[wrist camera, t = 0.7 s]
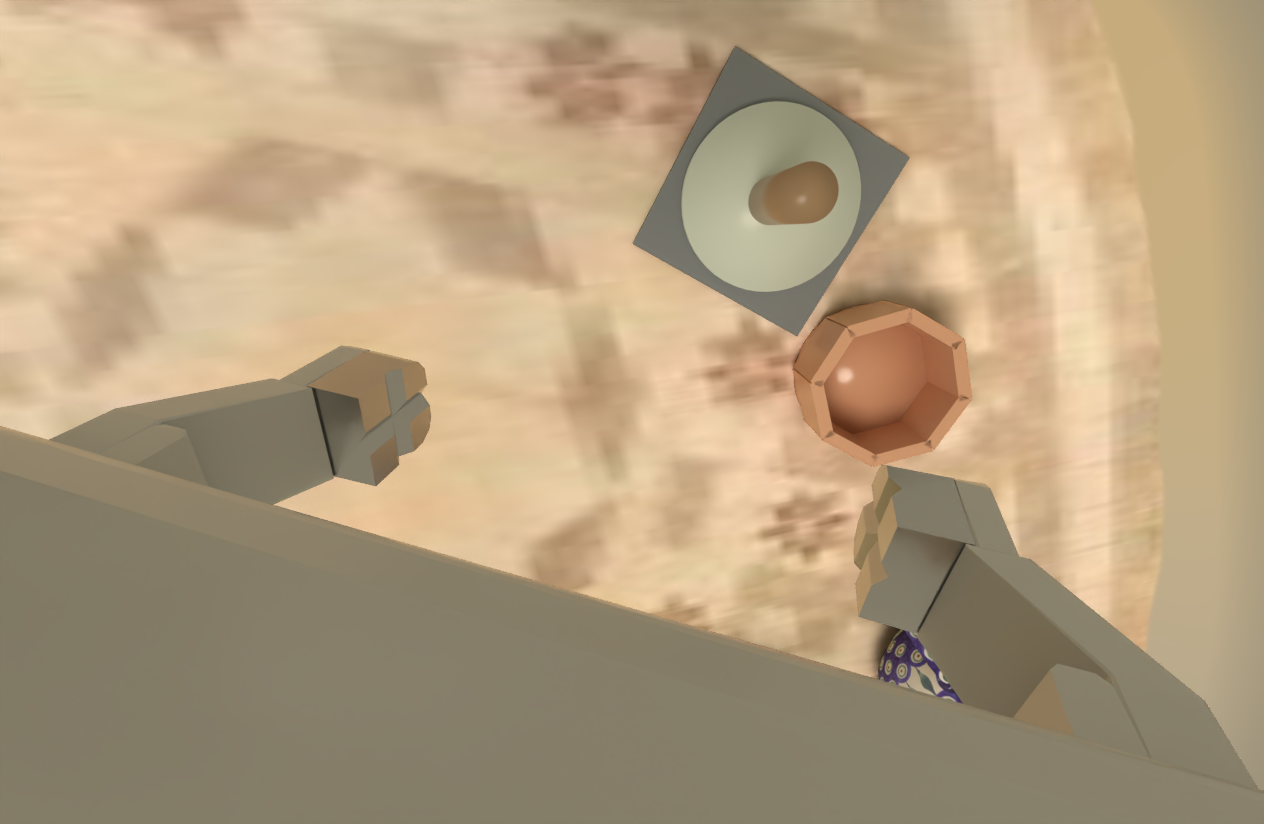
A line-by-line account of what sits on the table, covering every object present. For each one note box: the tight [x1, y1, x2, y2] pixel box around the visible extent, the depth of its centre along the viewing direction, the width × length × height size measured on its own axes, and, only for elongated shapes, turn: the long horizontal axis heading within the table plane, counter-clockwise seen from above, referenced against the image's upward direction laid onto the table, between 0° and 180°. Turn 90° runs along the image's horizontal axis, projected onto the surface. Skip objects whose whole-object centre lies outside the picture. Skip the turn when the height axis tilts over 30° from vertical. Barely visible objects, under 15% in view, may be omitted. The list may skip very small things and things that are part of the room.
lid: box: [681, 101, 861, 292], centre depth 41 cm, size 14×14×11 cm
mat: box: [633, 46, 909, 336], centre depth 46 cm, size 16×16×1 cm
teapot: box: [878, 629, 963, 704], centre depth 53 cm, size 25×15×15 cm, turn 34°
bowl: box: [793, 300, 972, 467], centre depth 48 cm, size 12×12×6 cm
